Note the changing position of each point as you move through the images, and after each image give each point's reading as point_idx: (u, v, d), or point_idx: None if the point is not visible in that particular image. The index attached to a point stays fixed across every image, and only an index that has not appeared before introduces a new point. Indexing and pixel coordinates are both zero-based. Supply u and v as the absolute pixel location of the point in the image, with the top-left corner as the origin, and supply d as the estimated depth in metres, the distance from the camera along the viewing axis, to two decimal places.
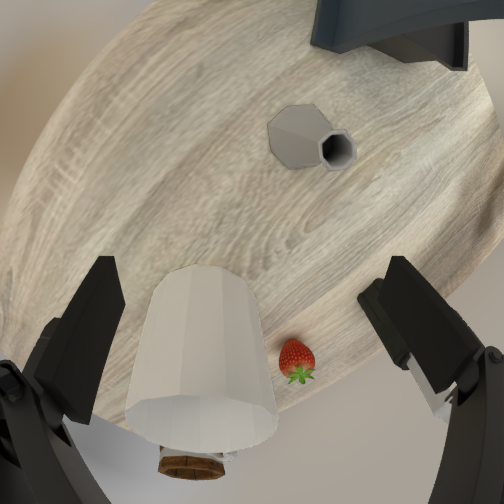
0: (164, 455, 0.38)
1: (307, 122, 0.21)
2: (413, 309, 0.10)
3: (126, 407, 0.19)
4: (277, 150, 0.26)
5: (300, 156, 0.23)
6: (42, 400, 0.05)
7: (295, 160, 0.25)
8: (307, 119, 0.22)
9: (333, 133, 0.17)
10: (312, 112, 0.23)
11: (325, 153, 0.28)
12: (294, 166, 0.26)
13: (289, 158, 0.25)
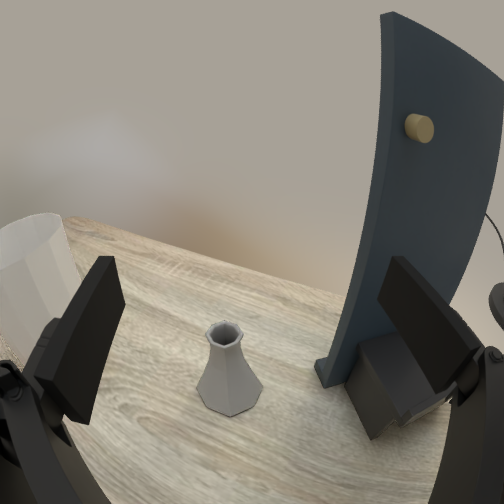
0: None
1: None
2: (413, 309, 0.10)
3: (50, 214, 0.28)
4: None
5: None
6: (42, 400, 0.05)
7: None
8: None
9: (235, 327, 0.24)
10: None
11: None
12: (200, 379, 0.27)
13: None
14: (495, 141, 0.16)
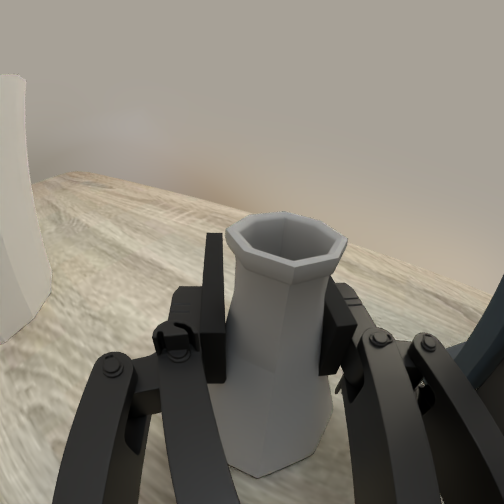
0: None
1: None
2: None
3: None
4: None
5: None
6: (202, 358, 0.07)
7: None
8: None
9: (320, 225, 0.08)
10: None
11: None
12: None
13: None
14: None
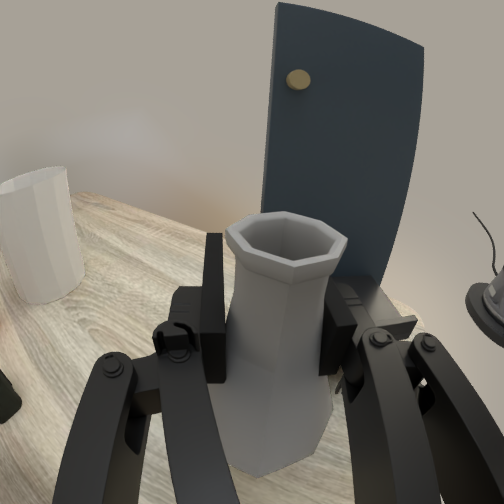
0: None
1: None
2: None
3: (59, 168, 0.35)
4: None
5: None
6: (202, 358, 0.07)
7: None
8: None
9: (320, 225, 0.08)
10: None
11: None
12: None
13: None
14: (412, 98, 0.21)
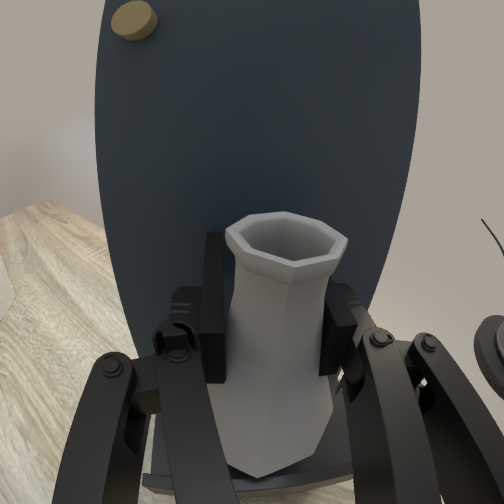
0: None
1: None
2: None
3: None
4: None
5: None
6: (201, 358, 0.07)
7: None
8: None
9: (320, 226, 0.08)
10: None
11: None
12: None
13: None
14: (401, 36, 0.09)
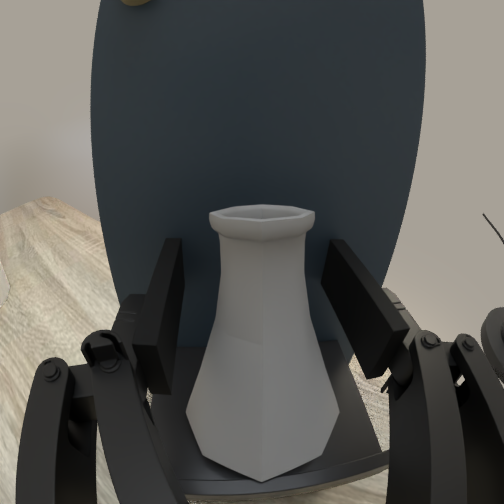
0: None
1: None
2: (346, 290, 0.11)
3: None
4: None
5: None
6: (136, 369, 0.07)
7: None
8: None
9: (291, 209, 0.09)
10: None
11: None
12: None
13: None
14: (404, 7, 0.07)
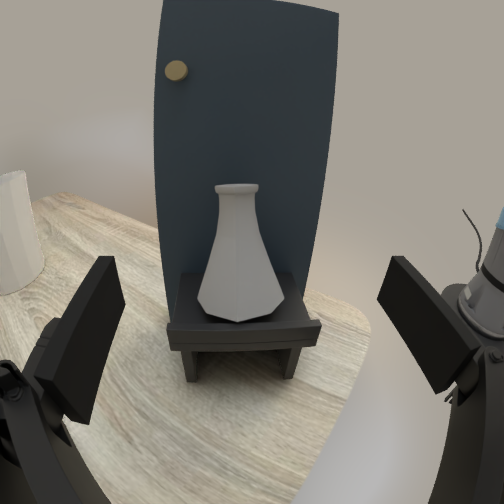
0: None
1: None
2: (413, 309, 0.10)
3: (21, 171, 0.34)
4: None
5: None
6: (42, 400, 0.05)
7: None
8: None
9: (250, 184, 0.22)
10: None
11: None
12: (203, 280, 0.23)
13: None
14: (322, 70, 0.20)
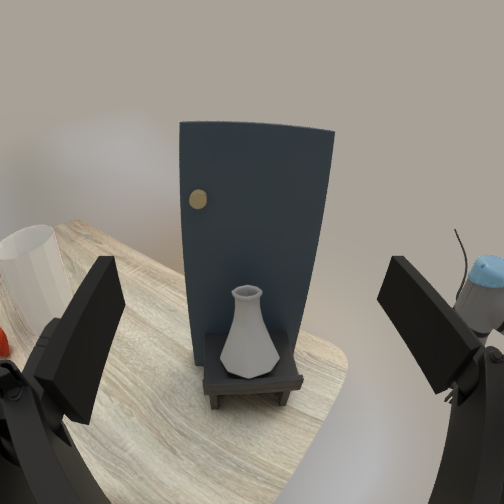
0: None
1: None
2: (413, 309, 0.10)
3: (48, 226, 0.44)
4: None
5: None
6: (42, 400, 0.05)
7: None
8: None
9: (256, 288, 0.31)
10: None
11: None
12: (224, 347, 0.33)
13: None
14: (315, 190, 0.29)
